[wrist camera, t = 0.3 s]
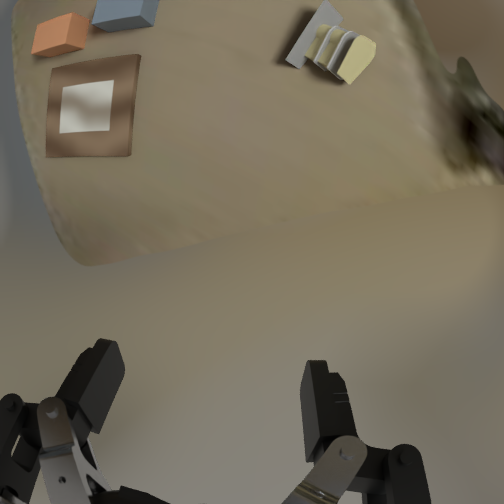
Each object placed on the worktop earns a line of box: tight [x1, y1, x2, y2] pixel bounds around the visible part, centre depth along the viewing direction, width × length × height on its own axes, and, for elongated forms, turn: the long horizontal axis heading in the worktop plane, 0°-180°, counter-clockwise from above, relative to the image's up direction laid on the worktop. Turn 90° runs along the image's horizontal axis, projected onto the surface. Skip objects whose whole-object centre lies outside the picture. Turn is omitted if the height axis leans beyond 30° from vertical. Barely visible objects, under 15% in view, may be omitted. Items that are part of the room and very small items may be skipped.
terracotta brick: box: [31, 12, 90, 57], centre depth 25 cm, size 5×7×5 cm
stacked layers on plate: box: [285, 0, 376, 85], centre depth 27 cm, size 10×9×6 cm
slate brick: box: [92, 0, 159, 32], centre depth 24 cm, size 5×7×5 cm
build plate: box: [46, 54, 141, 157], centre depth 31 cm, size 14×15×1 cm
